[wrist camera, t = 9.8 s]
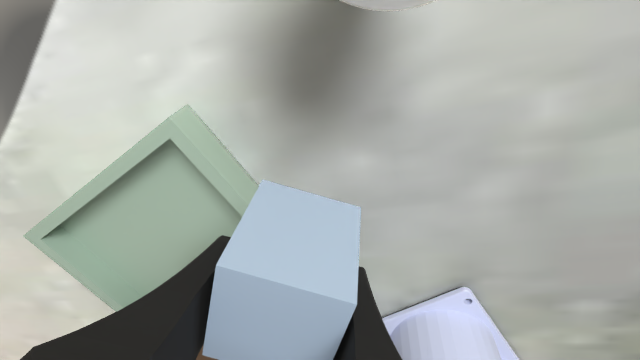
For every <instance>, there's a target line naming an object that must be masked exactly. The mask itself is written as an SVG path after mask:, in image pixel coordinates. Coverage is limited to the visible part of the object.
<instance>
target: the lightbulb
mask: <svg viewBox="0 0 640 360" xmlns="http://www.w3.org/2000/svg"><path fill="white" fill-rule="evenodd" d="M339 1H342V2H344V3H346V4H349V5H352V6H355V7H358V8H362V9H367V10H374V11H400V10H407V9H412V8H416V7H420V6H423V5H426V4H429V3H432V2H434V1H437V0H339Z"/></svg>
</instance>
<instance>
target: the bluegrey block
mask: <svg viewBox="0 0 640 360" xmlns="http://www.w3.org/2000/svg"><path fill="white" fill-rule="evenodd" d="M360 219H361V207H358V206H354V205H351V204H347V203H344V202H340V201H337V200H333V199H330V198H326V197H323V196H319V195H316V194H312V193H309V192H305V191H302V190H298V189H295V188H291V187H288V186H284V185H281V184H277V183H273V182H270V181H266V180H262V182H261V183H260V185H259V187H258V189H257V191H256V193H255V194H254V196H253V198H252V200H251V202H250V204H249V205H248V207H247V209H246V211H245V213H244V215H243V216H242V218H241V220H240V222H239V224H238V226H237V227H236V229H235V231H234V233H233V235H232V237H231V238H230V240H229V242H228V244H227V246H226V248H225V250H224V251H223V253H222V255H221V257H220V259H219V261H218V262H217V264H216V268H215V275H214V281H213V288H212V294H211V301H210V307H209V314H208V320H207V327H206V334H205V340H204V347H203V353H202V355H204V356H207V357H211V358H215V359H218V360H333V358H334V356H335V354H336V352H337V349H338V347H339V345H340V342H341V340H342V338H343V336H344V333H345V331H346V329H347V326H348V324H349V322H350V320H351V317H352V315H353V313H354V310H355V308H356V306H357V292H358V268H359V243H360Z"/></svg>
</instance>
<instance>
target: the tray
mask: <svg viewBox="0 0 640 360" xmlns="http://www.w3.org/2000/svg"><path fill="white" fill-rule="evenodd" d="M258 187H259V186H258V185H257V184H256V182H255V181H254V180H253V179H252V178H251V177H250V175H249V174H248V173H247V172H246V171H245V170H244V169H243V167H242V166H241V165H240V164H239V163H238V162H237V161H236V159H235V158H234V157H233V156H232V155H231V154H230V152H229V151H228V150H227V149H226V148H225V147H224V146H223V144H222V143H221V142H220V141H219V140H218V139H217V138H216V136H215V135H214V134H213V133H212V132H211V131H210V129H209V128H208V127H207V126H206V125H205V124H204V123H203V121H202V120H201V119H200V118H199V117H198V116H197V114H196V113H195V112H194V111H193V110H192V109H191V108H190V106H189V105H188V104H187V105H186V106H184V107H183V108H181V109H180V110H179V111H177V112H176V113H174V114H173V115H171V116H170V117H169V118H167V119H166V120H165V121H164V122H163V123H161V124H160V125H159V126H158V127H156V128H155V129H154V130H153V131H151V132H150V133H149V134H148V135H147V136H145V137H144V138H143V139H142V140H140V141H139V142H138V143H137V144H135V145H134V146H133V147H132V148H131V149H129V150H128V151H127V152H126V153H124V154H123V155H122V156H121V157H119V158H118V159H117V160H116V161H115V162H113V163H112V164H111V165H110V166H108V167H107V168H106V169H105V170H104V171H102V172H101V173H100V174H99V175H97V176H96V177H95V178H94V179H92V180H91V181H90V182H89V183H88V184H86V185H85V186H84V187H83V188H81V189H80V190H79V191H78V192H76V193H75V194H74V195H73V196H72V197H70V198H69V199H68V200H67V201H65V202H64V203H63V204H62V205H60V206H59V207H58V208H57V209H56V210H54V211H53V212H52V213H51V214H49V215H48V216H47V217H46V218H44V219H43V220H42V221H41V222H40V223H38V224H37V225H36V226H35V227H33V228H32V229H31V230H30V231H29V232H27V233H26V234H25V235H24V237H25V238H26V239H27V240H29V241H30V242H31V243H32V244H34V245H35V246H36V247H37V248H38V249H40V250H41V251H42V252H43V253H45V254H46V255H47V256H48V257H50V258H51V259H52V260H53V261H54V262H56V263H57V264H58V265H59V266H61V267H62V268H63V269H64V270H65V271H67V272H68V273H69V274H70V275H72V276H73V277H74V278H75V279H77V280H78V281H79V282H80V283H81V284H83V285H84V286H85V287H86V288H88V289H89V290H90V291H91V292H93V293H94V294H95V295H96V296H97V297H99V298H100V299H101V300H102V301H104V302H105V303H106V304H107V305H108V306H110V307H111V308H112V309H113V310H115V311H116V312H117V311H119V310H120V309H122V308H124V307H126V306H128V305H129V304H131V303H133V302H135V301H136V300H138V299H140V298H141V297H143V296H145V295H146V294H148V293H149V292H151V291H152V290H154V289H155V288H157V287H158V286H160V285H161V284H163V283H164V282H166V281H167V280H168V279H170V278H171V277H172V276H174V275H175V274H176V273H178V272H179V271H180V270H182V269H183V268H184V267H185V266H187V265H188V264H189V263H190V262H192V261H193V260H194V259H195V258H196V257H198V256H199V255H200V254H201V253H202V252H203V251H204V250H206V249H207V248H208V247H209V246H210V245H211V244H212V243H213V242H214V241H215V240H216V239H217V238H218V237H220V236H221V235H224V236H228V237H232V235H233V233H234V231H235V229H236V227H237V226H238V224H239V222H240V220H241V218H242V216H243V215H244V213H245V211H246V209H247V207H248V205H249V204H250V202H251V200H252V198H253V196H254V194H255V193H256V191H257V189H258Z"/></svg>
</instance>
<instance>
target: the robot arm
mask: <svg viewBox="0 0 640 360" xmlns="http://www.w3.org/2000/svg"><path fill="white" fill-rule="evenodd" d="M230 238H231V237H228V236H224V235H221V236H220V237H218V238H217V239H216V240H215V241H214V242H213V243H212V244H211V245H210V246H209V247H208V248H207V249H206V250H204V251H203V252H202V253H201V254H200V255H199V256H198V257H196V258H195V259H194V260H193V261H192V262H190V263H189V264H188V265H187V266H185V267H184V268H183V269H182V270H180V271H179V272H178V273H176V274H175V275H174V276H172V277H171V278H170V279H168V280H167V281H166V282H164V283H163V284H161V285H160V286H158V287H157V288H155V289H154V290H152V291H151V292H149V293H148V294H146V295H145V296H143V297H141V298H140V299H138V300H136V301H135V302H133V303H131V304H129V305H128V306H126V307H124V308H122V309H120V310H119V311H117V312H115V313H113V314H111V315H109V316H107V317H105V318H103V319H101V320H99V321H96V322H94V323H92V324H90V325H88V326H86V327H84V328H81V329H79V330H77V331H74V332H72V333H70V334H67V335H64V336H62V337H59V338H56V339H54V340H51V341H49V342H46V343H43V344H41V345H38V346H35V347H33V348H32V349H31V350H30V351H29V352H28V353H27V354H26V355H25V356H23V357H22V358H21V359H20V360H196V358H197V356H198V354H199V352H200V350H201V348H202V346H203V344H204V340H205V334H206V327H207V320H208V314H209V307H210V301H211V294H212V288H213V281H214V275H215V268H216V264H217V262H218V261H219V259H220V257H221V255H222V253H223V251H224V250H225V248H226V246H227V244H228V242H229V240H230ZM466 299H469V300H466ZM333 360H519V358H518V357H517V355H516V354H515V352H514V351H513V350H512V348H511V347H510V345H509V344H508V342H507V341H506V340H505V338H504V337H503V335H502V334H501V332H500V331H499V330H498V328H497V327H496V325H495V324H494V322H493V321H492V320H491V318H490V317H489V315H488V314H487V312H486V311H485V310H484V308H483V307H482V305H481V304H480V302H479V301H478V300H477V298H476V297H475V295H474V294H473V292H472V291H471V290H470V289H469V288H467V287H461V288H458V289H456V290H453V291H451V292H448V293H445V294H443V295H440V296H438V297H435V298H433V299H430V300H428V301H425V302H423V303H420V304H417V305H415V306H412V307H410V308H407V309H405V310H402V311H400V312H397V313H394V314H392V315H389V316H387V317H384V318H382V317H381V315H380V312H379V310H378V308H377V305H376V302H375V300H374V297H373V294H372V291H371V288H370V285H369V282H368V278H367V275H366V271H365V269H364V268H363V267H359V268H358V292H357V306H356V308H355V310H354V313H353V315H352V317H351V320H350V322H349V324H348V326H347V329H346V331H345V333H344V336H343V338H342V340H341V342H340V345H339V347H338V349H337V352H336V354H335V356H334V358H333Z"/></svg>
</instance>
